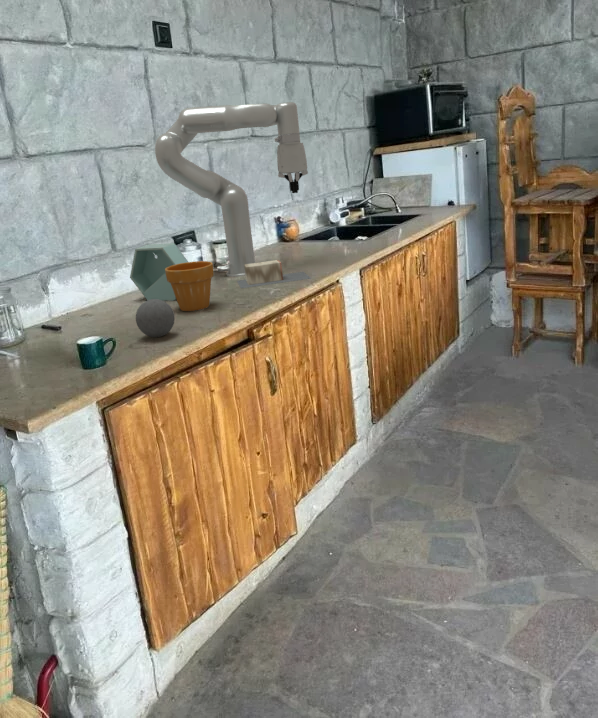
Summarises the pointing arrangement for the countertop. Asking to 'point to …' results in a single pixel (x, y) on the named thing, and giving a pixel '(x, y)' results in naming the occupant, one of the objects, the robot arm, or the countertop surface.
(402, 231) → the countertop surface
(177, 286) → the flower pot
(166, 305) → the decorative ball
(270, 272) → the birch block
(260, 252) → the countertop surface
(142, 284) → the planter
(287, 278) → the slate mat
